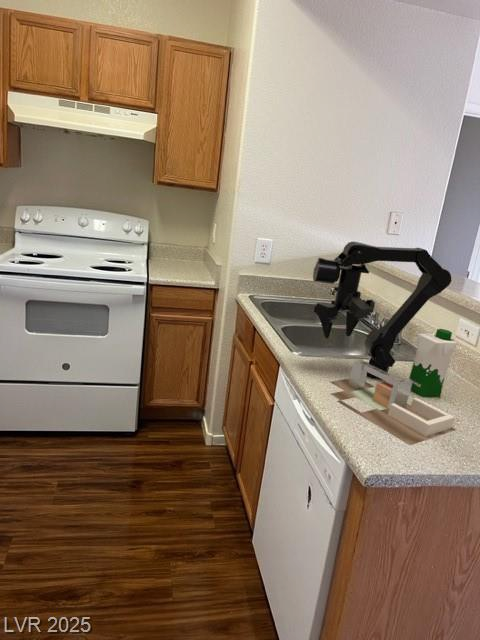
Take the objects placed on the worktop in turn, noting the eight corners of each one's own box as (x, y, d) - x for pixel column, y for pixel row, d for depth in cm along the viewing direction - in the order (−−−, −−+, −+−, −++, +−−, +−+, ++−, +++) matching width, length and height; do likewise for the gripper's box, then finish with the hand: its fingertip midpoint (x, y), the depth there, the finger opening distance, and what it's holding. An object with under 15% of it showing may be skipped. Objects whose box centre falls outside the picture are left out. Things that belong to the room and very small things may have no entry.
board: (355, 381, 143) (356, 377, 143) (454, 435, 118) (456, 429, 118) (309, 390, 132) (310, 385, 132) (408, 451, 107) (409, 445, 107)
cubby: (413, 408, 127) (416, 397, 126) (451, 428, 118) (454, 417, 118) (387, 414, 120) (390, 404, 120) (425, 436, 112) (428, 425, 111)
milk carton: (444, 401, 138) (463, 336, 133) (420, 403, 134) (438, 336, 129) (422, 388, 146) (439, 326, 140) (399, 389, 142) (415, 325, 137)
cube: (384, 397, 131) (388, 380, 130) (399, 405, 127) (404, 388, 126) (372, 400, 128) (376, 383, 126) (388, 408, 124) (392, 391, 123)
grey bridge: (358, 383, 138) (364, 358, 136) (405, 407, 126) (412, 381, 124) (344, 385, 135) (350, 361, 133) (391, 411, 123) (398, 384, 121)
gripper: (346, 293, 127) (335, 349, 131) (391, 292, 138) (378, 343, 142) (317, 283, 135) (307, 335, 140) (361, 283, 146) (350, 331, 151)
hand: (337, 336), depth 143 cm, fingers open, 9 cm apart
